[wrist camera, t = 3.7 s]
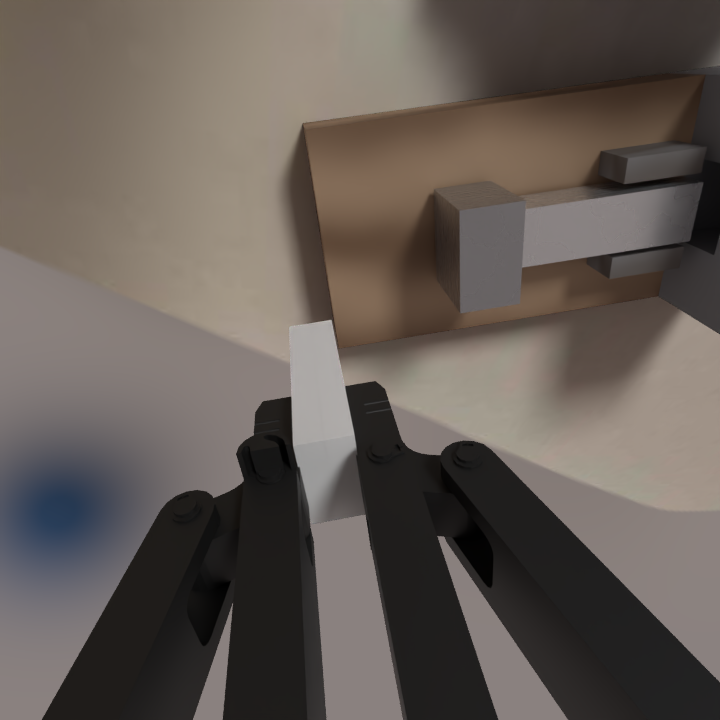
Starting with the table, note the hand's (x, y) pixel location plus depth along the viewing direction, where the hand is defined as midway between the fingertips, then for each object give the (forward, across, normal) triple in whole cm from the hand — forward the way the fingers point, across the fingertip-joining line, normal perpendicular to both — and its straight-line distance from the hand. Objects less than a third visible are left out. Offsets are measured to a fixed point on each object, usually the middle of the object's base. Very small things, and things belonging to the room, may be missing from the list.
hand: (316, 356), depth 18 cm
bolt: (+10, +14, 0) cm, 17 cm away
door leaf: (+13, +11, 0) cm, 17 cm away
